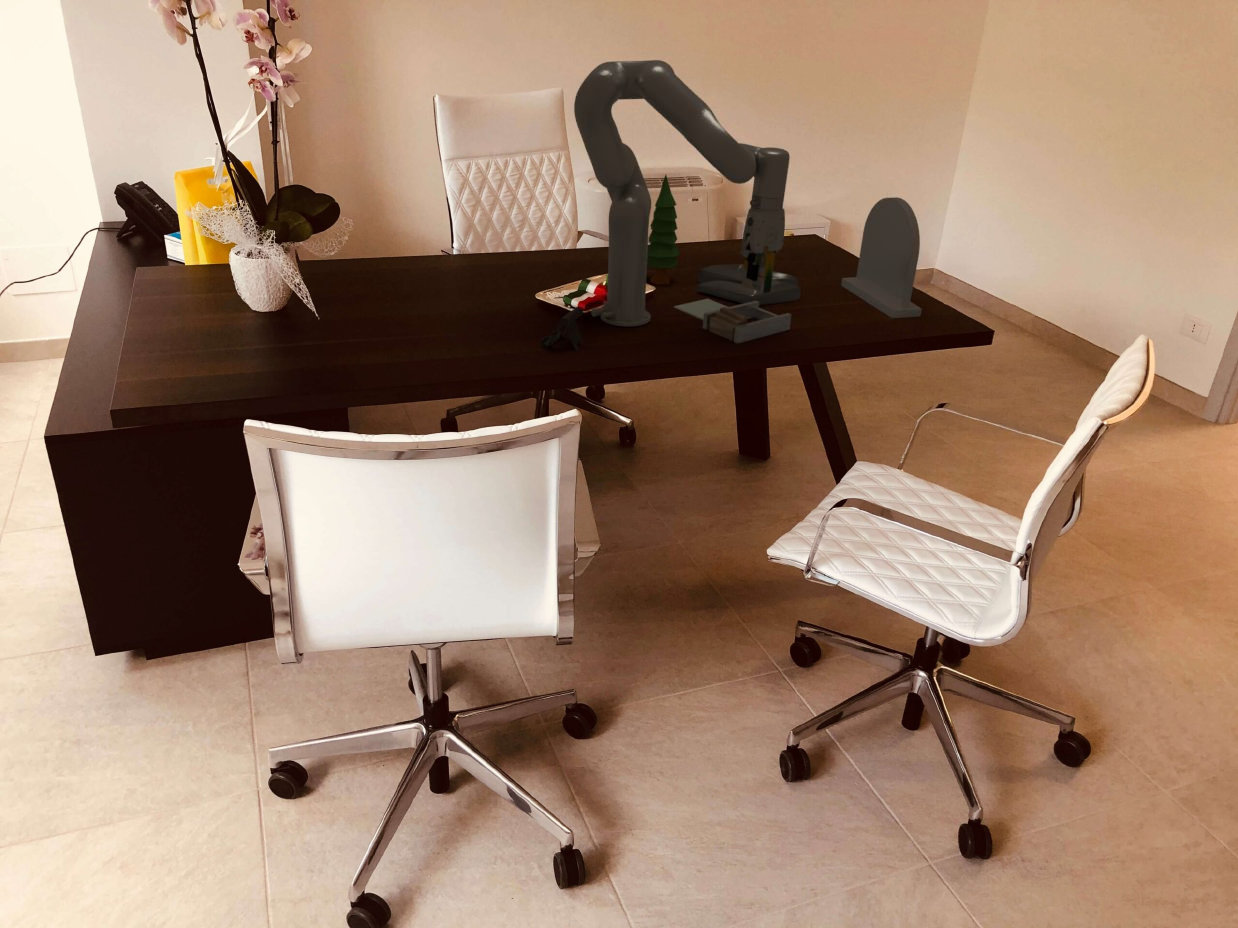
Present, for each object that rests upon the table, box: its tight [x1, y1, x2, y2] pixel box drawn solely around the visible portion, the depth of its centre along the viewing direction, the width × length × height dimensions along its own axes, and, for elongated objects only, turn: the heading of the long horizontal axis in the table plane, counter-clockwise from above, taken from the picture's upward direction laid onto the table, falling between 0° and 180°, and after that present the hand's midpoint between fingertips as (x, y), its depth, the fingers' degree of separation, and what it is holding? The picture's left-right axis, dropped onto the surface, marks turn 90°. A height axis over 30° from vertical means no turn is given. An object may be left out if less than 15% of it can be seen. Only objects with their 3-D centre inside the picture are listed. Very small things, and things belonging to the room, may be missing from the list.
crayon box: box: [742, 246, 776, 294], centre depth 235 cm, size 7×3×12 cm, turn 39°
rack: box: [702, 301, 792, 344], centre depth 240 cm, size 18×12×4 cm
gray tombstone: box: [840, 196, 922, 319], centre depth 258 cm, size 28×9×28 cm, turn 17°
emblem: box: [696, 263, 801, 306], centre depth 267 cm, size 28×5×28 cm
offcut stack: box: [708, 307, 748, 342], centre depth 236 cm, size 4×8×6 cm, turn 38°
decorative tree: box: [647, 174, 680, 285], centre depth 266 cm, size 10×9×30 cm
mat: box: [673, 298, 728, 321], centre depth 252 cm, size 12×12×1 cm
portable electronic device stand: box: [540, 306, 584, 351], centre depth 225 cm, size 9×8×8 cm
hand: (757, 278), depth 236 cm, fingers closed on crayon box, 3 cm apart
